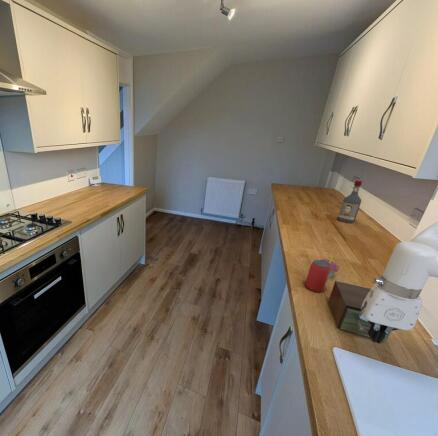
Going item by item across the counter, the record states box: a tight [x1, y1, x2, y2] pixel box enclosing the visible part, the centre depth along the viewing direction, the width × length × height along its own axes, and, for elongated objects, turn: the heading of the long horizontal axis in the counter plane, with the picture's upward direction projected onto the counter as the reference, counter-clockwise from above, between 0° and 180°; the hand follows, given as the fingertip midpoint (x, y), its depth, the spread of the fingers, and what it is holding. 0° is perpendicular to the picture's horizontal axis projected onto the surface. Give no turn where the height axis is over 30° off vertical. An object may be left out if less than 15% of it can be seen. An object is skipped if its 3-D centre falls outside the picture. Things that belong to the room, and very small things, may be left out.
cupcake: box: [321, 253, 340, 279], centre depth 107 cm, size 9×8×12 cm
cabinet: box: [327, 280, 372, 338], centre depth 82 cm, size 15×13×10 cm
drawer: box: [340, 308, 391, 342], centre depth 78 cm, size 18×11×8 cm, turn 154°
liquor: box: [337, 180, 363, 224], centre depth 171 cm, size 9×9×30 cm
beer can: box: [304, 259, 330, 293], centre depth 98 cm, size 7×7×12 cm
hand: (374, 338), depth 69 cm, fingers closed
